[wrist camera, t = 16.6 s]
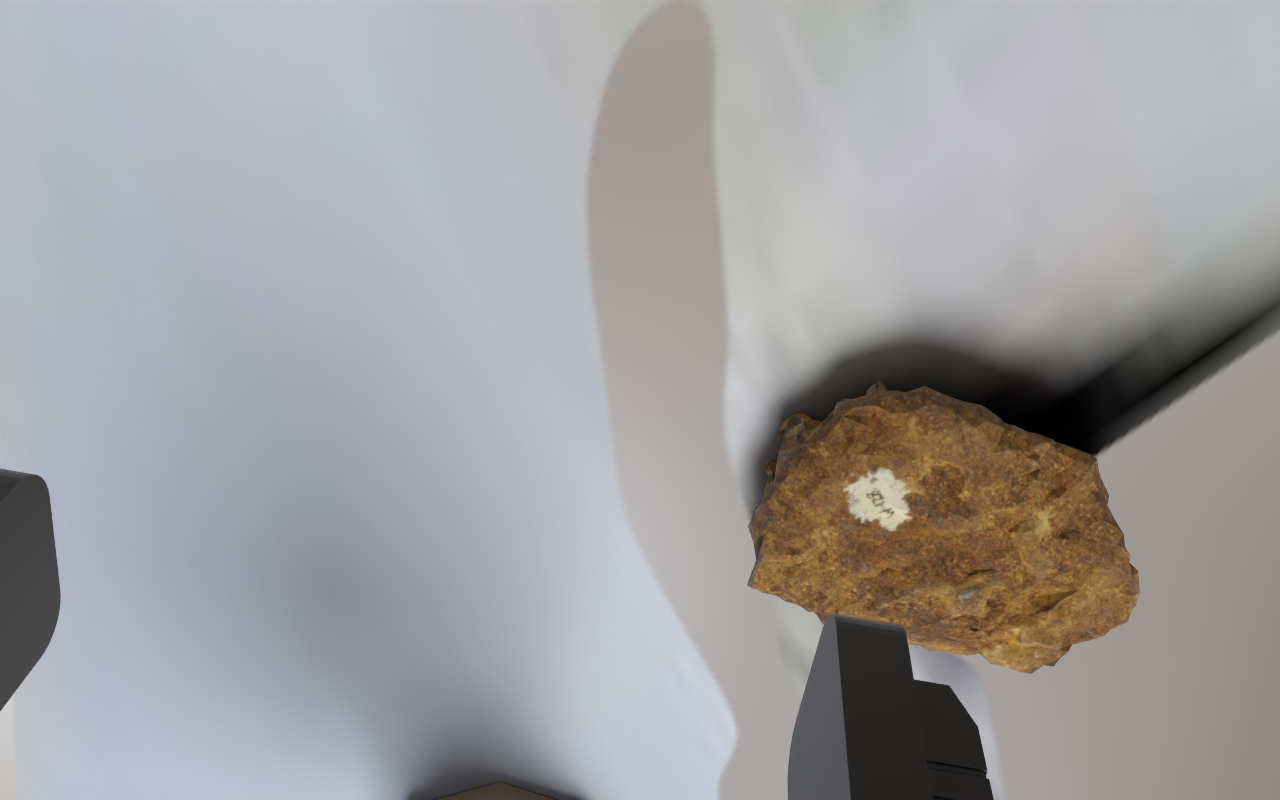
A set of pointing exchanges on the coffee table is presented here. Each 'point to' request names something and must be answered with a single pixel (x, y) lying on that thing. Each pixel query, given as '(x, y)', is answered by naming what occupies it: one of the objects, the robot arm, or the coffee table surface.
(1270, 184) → the coffee table surface
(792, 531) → the decorative rock
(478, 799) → the bird statue
